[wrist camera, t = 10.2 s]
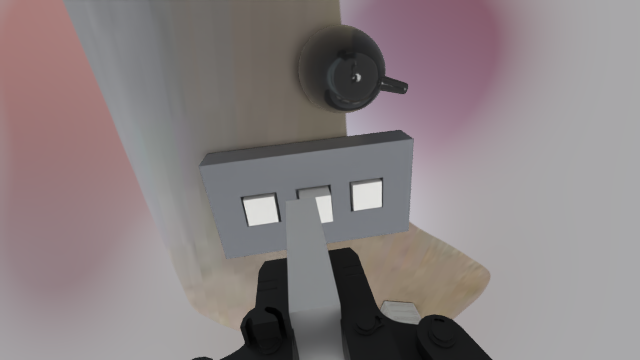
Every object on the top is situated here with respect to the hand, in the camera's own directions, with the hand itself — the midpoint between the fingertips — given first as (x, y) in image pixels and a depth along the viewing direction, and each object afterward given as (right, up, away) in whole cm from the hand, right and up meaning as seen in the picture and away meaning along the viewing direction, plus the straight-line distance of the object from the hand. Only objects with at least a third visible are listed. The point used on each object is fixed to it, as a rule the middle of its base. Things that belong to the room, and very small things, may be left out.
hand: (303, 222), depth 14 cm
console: (-1, +1, +32) cm, 32 cm away
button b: (0, 0, +29) cm, 29 cm away
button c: (+8, +2, +32) cm, 33 cm away
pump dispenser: (+3, +18, +25) cm, 31 cm away
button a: (-8, -1, +30) cm, 32 cm away
